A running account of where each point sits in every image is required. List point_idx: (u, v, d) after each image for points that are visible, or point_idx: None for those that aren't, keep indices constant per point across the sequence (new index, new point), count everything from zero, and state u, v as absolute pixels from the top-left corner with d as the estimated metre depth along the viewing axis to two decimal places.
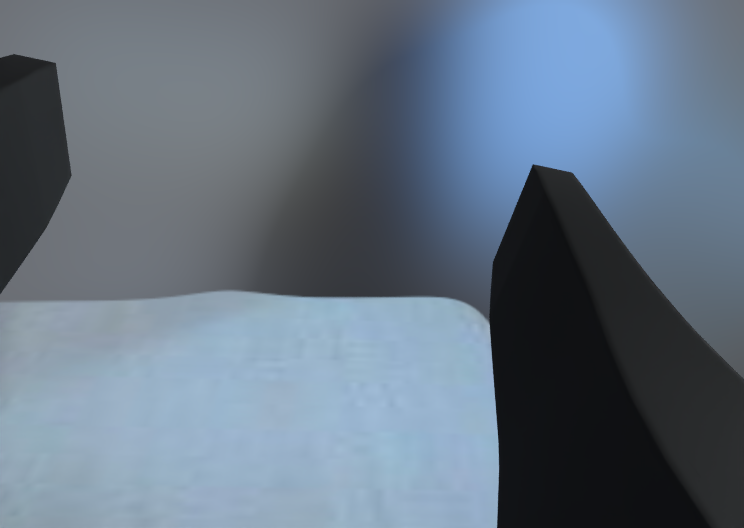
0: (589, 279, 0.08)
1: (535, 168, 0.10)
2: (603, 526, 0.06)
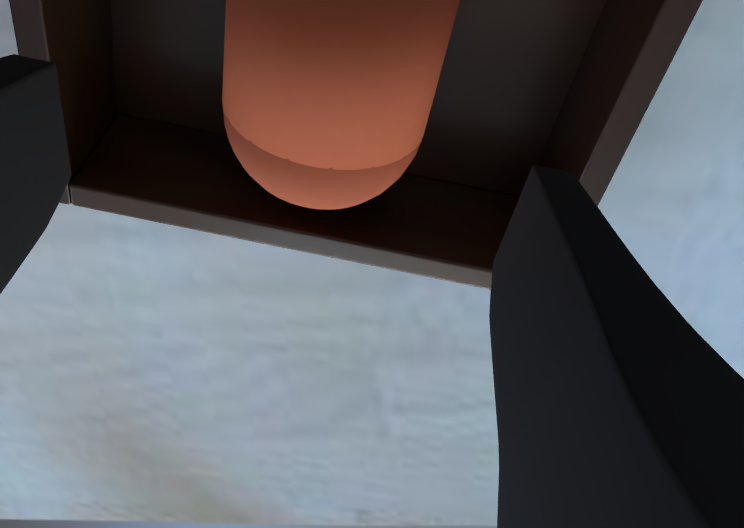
0: (589, 279, 0.08)
1: (535, 168, 0.10)
2: (603, 526, 0.06)
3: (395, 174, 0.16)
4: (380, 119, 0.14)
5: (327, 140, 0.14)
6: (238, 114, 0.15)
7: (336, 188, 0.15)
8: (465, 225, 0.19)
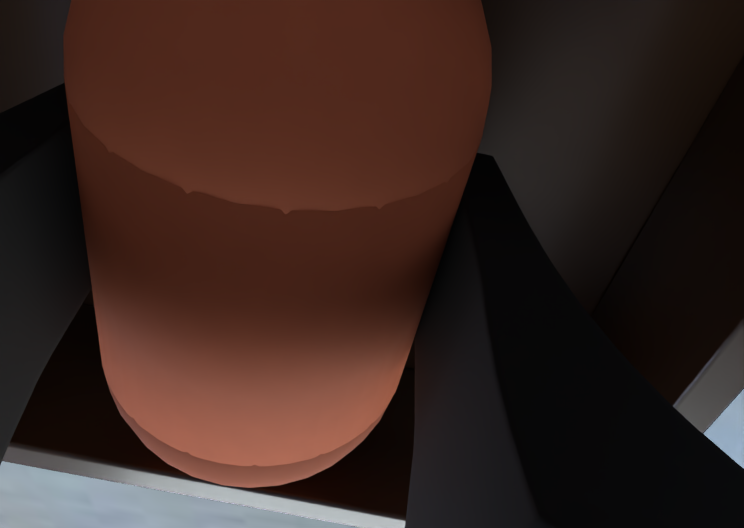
0: (483, 257, 0.08)
1: None
2: (468, 500, 0.06)
3: (358, 444, 0.11)
4: (328, 406, 0.09)
5: (244, 437, 0.09)
6: (113, 379, 0.10)
7: (267, 481, 0.10)
8: None
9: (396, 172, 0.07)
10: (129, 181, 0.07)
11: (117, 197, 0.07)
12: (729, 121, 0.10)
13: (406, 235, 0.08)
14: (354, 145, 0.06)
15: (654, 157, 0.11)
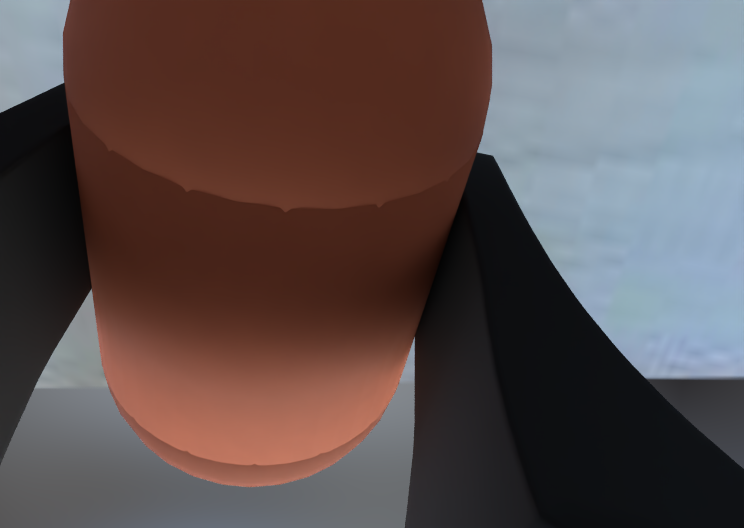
0: (483, 257, 0.08)
1: None
2: (468, 500, 0.06)
3: (358, 443, 0.11)
4: (328, 404, 0.09)
5: (243, 435, 0.09)
6: (113, 378, 0.10)
7: (267, 480, 0.10)
8: None
9: (396, 171, 0.07)
10: (130, 178, 0.07)
11: (116, 195, 0.07)
12: None
13: (406, 234, 0.07)
14: (353, 144, 0.06)
15: None
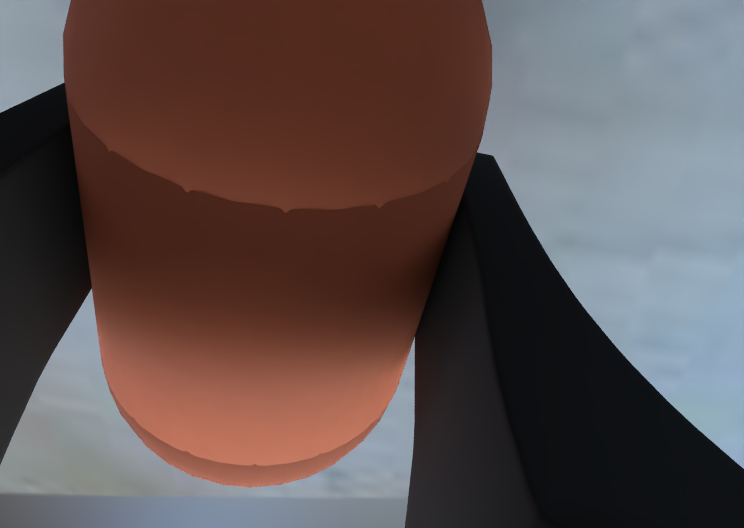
0: (483, 258, 0.08)
1: None
2: (468, 501, 0.06)
3: (358, 443, 0.11)
4: (328, 404, 0.09)
5: (244, 436, 0.09)
6: (113, 378, 0.10)
7: (267, 480, 0.10)
8: None
9: (396, 172, 0.07)
10: (129, 180, 0.07)
11: (117, 196, 0.07)
12: None
13: (406, 234, 0.07)
14: (353, 145, 0.06)
15: None
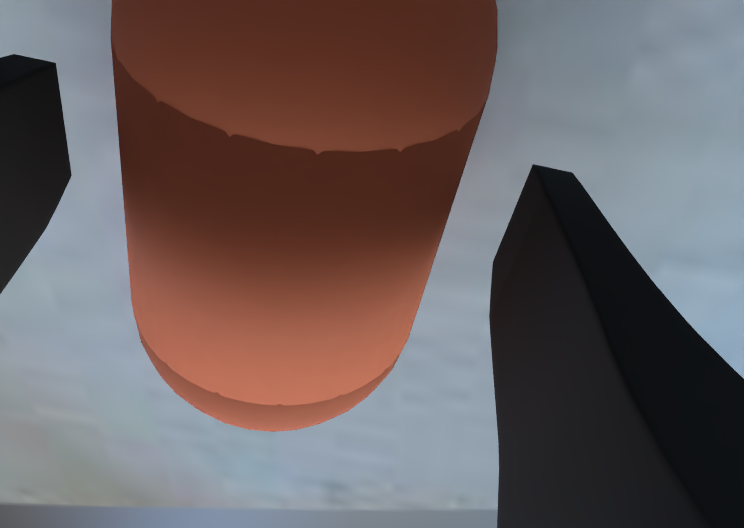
0: (589, 279, 0.08)
1: (536, 168, 0.10)
2: (603, 526, 0.06)
3: (373, 389, 0.12)
4: (348, 344, 0.10)
5: (270, 375, 0.10)
6: (146, 327, 0.11)
7: (290, 421, 0.11)
8: None
9: (415, 118, 0.08)
10: (176, 127, 0.08)
11: (162, 144, 0.08)
12: None
13: (422, 179, 0.08)
14: (378, 91, 0.07)
15: None
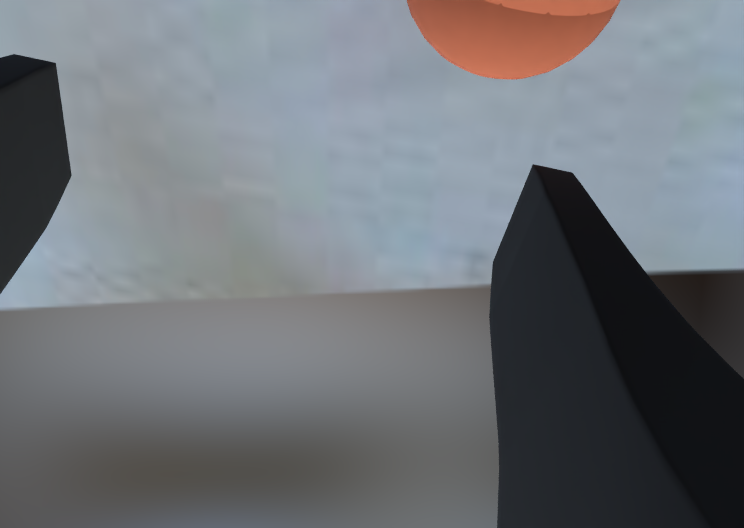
0: (589, 279, 0.08)
1: (536, 168, 0.10)
2: (603, 526, 0.06)
3: (600, 29, 0.15)
4: None
5: None
6: None
7: (547, 41, 0.14)
8: None
9: None
10: None
11: None
12: None
13: None
14: None
15: None
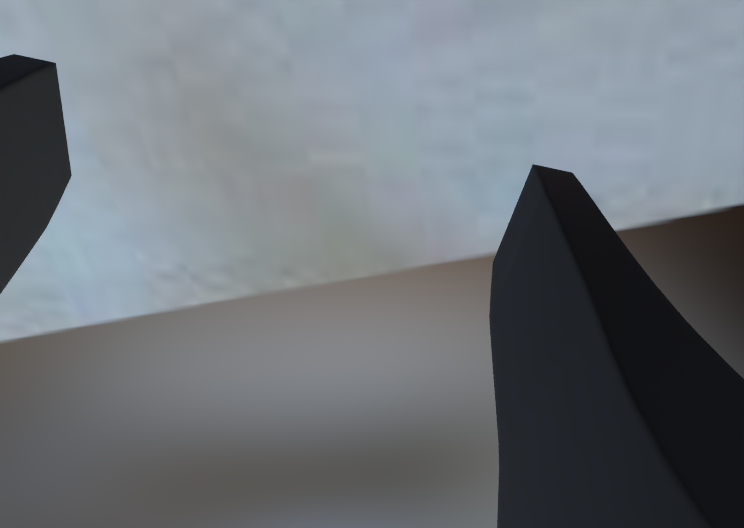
0: (589, 279, 0.08)
1: (535, 168, 0.10)
2: (603, 526, 0.06)
3: None
4: None
5: None
6: None
7: None
8: None
9: None
10: None
11: None
12: None
13: None
14: None
15: None
